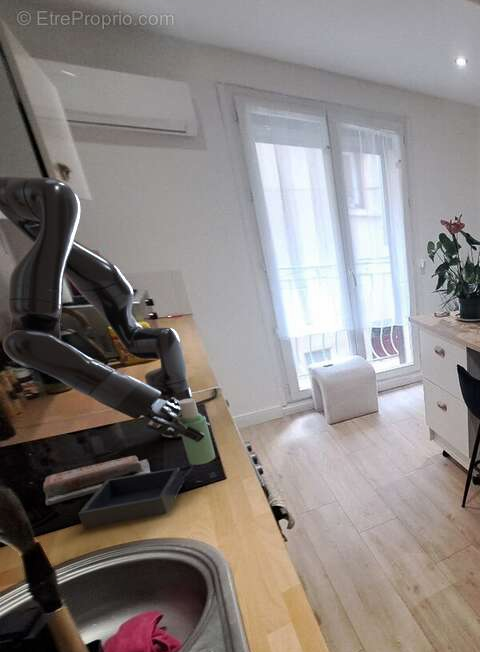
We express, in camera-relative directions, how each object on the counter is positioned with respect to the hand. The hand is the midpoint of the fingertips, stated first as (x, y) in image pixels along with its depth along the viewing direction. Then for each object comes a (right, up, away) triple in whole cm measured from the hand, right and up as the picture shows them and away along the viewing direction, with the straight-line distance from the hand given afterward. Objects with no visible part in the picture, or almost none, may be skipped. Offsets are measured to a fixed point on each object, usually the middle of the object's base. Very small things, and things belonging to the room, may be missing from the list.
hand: (204, 433), depth 101 cm
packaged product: (-26, -13, +1) cm, 29 cm away
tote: (-10, -16, -6) cm, 20 cm away
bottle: (-2, -7, +2) cm, 7 cm away
